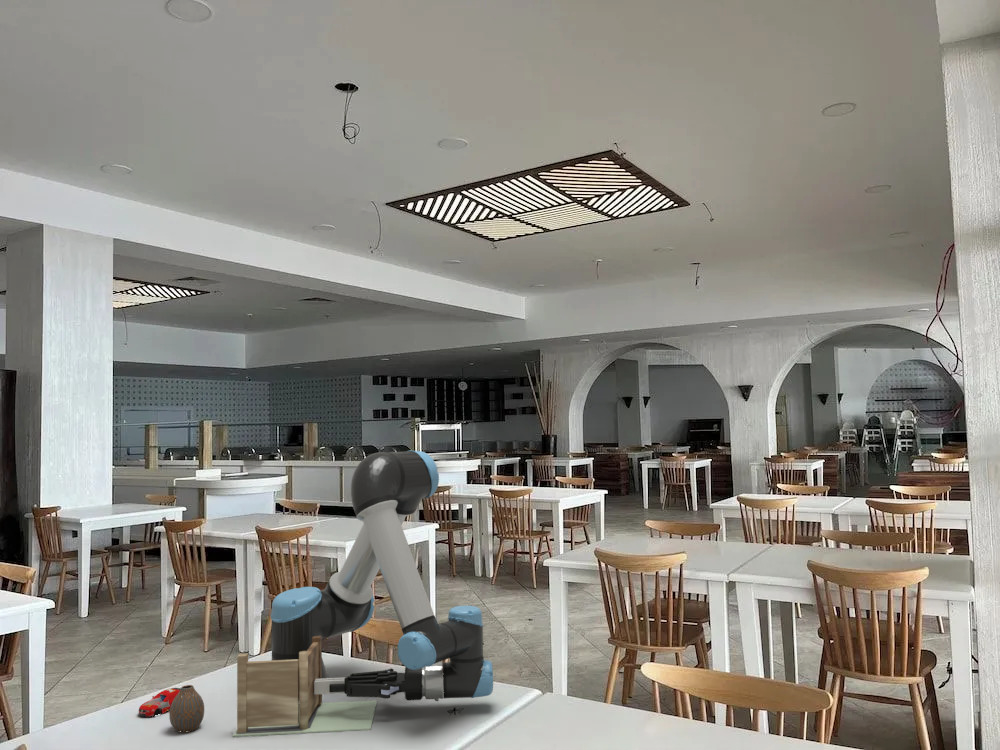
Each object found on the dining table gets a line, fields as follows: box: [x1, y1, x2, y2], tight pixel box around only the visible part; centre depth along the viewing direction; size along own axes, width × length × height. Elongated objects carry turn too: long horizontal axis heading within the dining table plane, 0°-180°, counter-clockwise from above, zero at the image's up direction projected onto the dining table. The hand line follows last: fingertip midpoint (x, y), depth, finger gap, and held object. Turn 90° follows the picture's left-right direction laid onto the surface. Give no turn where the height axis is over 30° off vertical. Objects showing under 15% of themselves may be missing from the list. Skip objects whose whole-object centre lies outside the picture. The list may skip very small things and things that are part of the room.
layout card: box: [232, 699, 378, 738], centre depth 170 cm, size 17×28×1 cm, turn 95°
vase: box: [168, 684, 205, 733], centre depth 166 cm, size 7×7×9 cm
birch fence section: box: [236, 651, 308, 733], centre depth 164 cm, size 2×14×16 cm, turn 94°
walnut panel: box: [307, 636, 323, 720], centre depth 172 cm, size 13×2×15 cm, turn 1°
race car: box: [138, 687, 181, 718], centre depth 179 cm, size 13×5×4 cm, turn 150°
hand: (315, 686), depth 172 cm, fingers closed
